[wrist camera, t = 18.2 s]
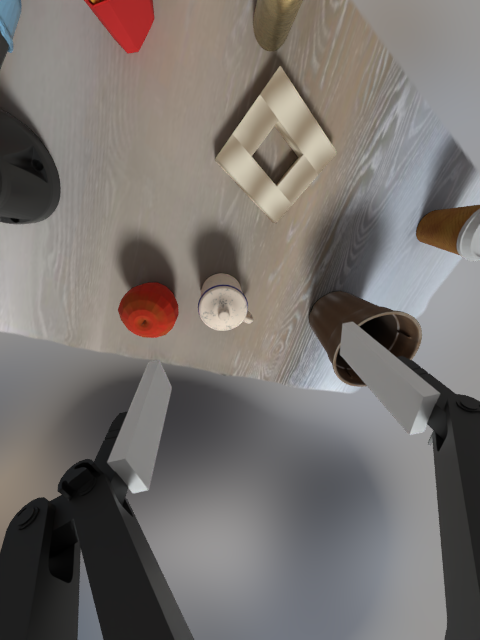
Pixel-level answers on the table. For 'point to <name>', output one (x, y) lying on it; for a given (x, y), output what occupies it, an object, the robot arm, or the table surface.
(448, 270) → the table surface
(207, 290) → the teacup with lid
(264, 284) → the table surface
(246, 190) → the socket block
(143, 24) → the french fries
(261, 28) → the gold stepped cylinder
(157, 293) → the apple
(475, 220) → the disposable coffee cup
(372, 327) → the plant pot
